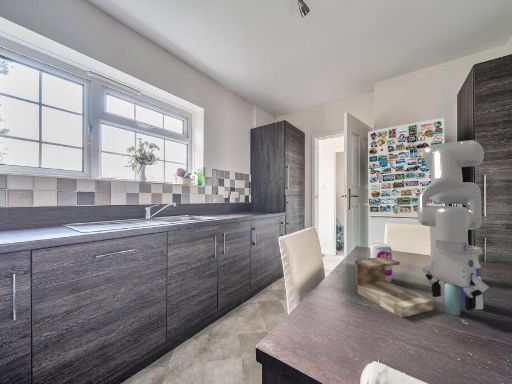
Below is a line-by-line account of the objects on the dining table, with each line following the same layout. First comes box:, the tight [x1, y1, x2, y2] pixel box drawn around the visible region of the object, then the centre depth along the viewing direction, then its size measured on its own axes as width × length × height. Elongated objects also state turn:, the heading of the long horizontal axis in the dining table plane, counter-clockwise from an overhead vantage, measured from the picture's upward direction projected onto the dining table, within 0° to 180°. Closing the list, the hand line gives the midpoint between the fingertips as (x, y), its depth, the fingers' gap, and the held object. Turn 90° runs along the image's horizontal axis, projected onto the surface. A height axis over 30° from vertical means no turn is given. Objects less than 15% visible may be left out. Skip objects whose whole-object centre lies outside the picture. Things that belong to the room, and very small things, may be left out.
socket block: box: [354, 257, 434, 319], centre depth 75 cm, size 14×18×12 cm
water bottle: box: [460, 244, 484, 310], centre depth 72 cm, size 8×8×25 cm
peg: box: [443, 281, 461, 316], centre depth 67 cm, size 4×4×10 cm
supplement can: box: [369, 242, 393, 283], centre depth 93 cm, size 8×8×15 cm
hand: (452, 302), depth 67 cm, fingers open, 8 cm apart
